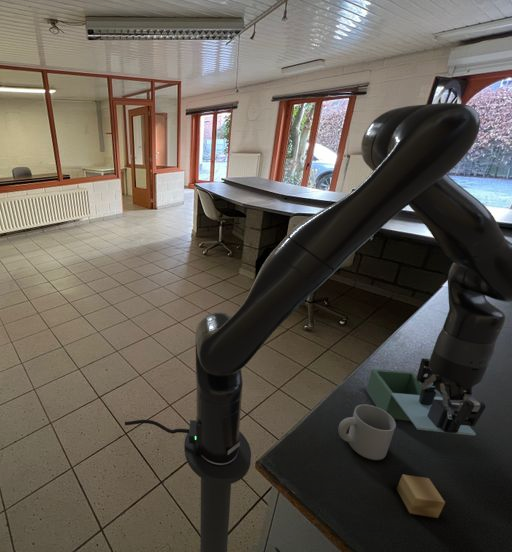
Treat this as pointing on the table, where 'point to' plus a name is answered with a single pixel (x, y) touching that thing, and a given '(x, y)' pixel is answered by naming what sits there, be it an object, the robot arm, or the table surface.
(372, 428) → the cup
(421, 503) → the block
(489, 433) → the table surface
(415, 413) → the teal box lid
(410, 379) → the display box
